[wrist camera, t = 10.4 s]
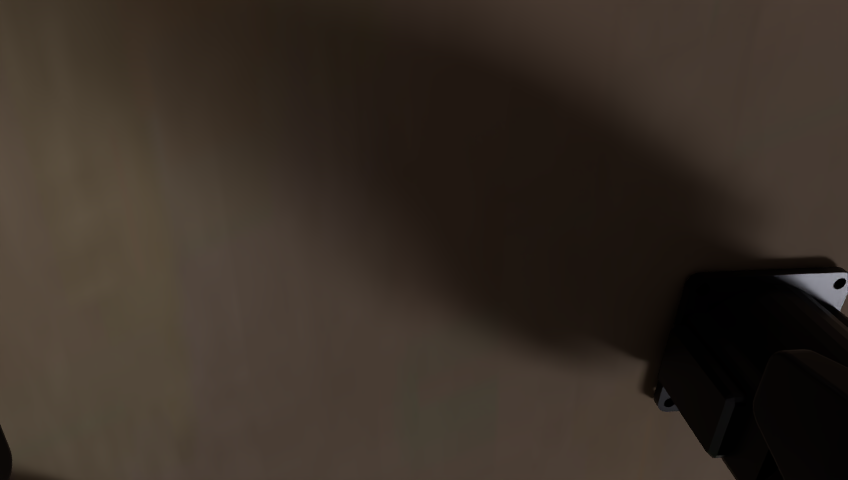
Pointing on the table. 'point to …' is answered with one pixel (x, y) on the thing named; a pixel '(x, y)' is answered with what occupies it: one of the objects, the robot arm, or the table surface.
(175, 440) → the table surface
